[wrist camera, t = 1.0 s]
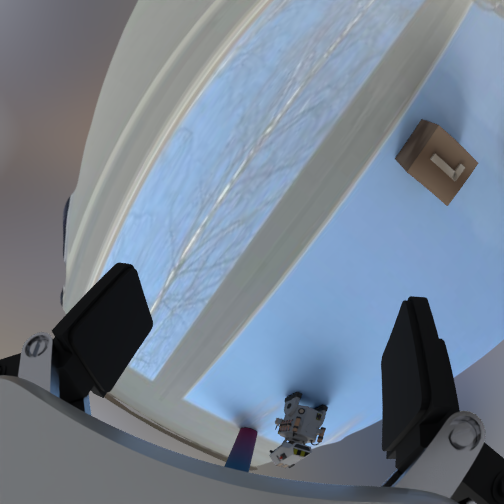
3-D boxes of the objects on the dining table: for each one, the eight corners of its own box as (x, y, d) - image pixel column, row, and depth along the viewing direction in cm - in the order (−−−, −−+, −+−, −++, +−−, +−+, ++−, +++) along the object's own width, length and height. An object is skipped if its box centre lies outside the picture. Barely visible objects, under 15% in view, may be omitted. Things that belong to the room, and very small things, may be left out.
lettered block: (421, 119, 27) (439, 125, 21) (457, 150, 27) (479, 164, 22) (394, 158, 30) (407, 172, 25) (431, 187, 30) (448, 207, 25)
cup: (265, 434, 72) (252, 479, 59) (248, 437, 75) (235, 479, 63) (248, 424, 70) (233, 471, 58) (232, 427, 74) (216, 471, 61)
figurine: (270, 404, 61) (254, 460, 49) (302, 387, 55) (289, 452, 43) (299, 418, 62) (288, 472, 50) (333, 403, 56) (325, 464, 44)
